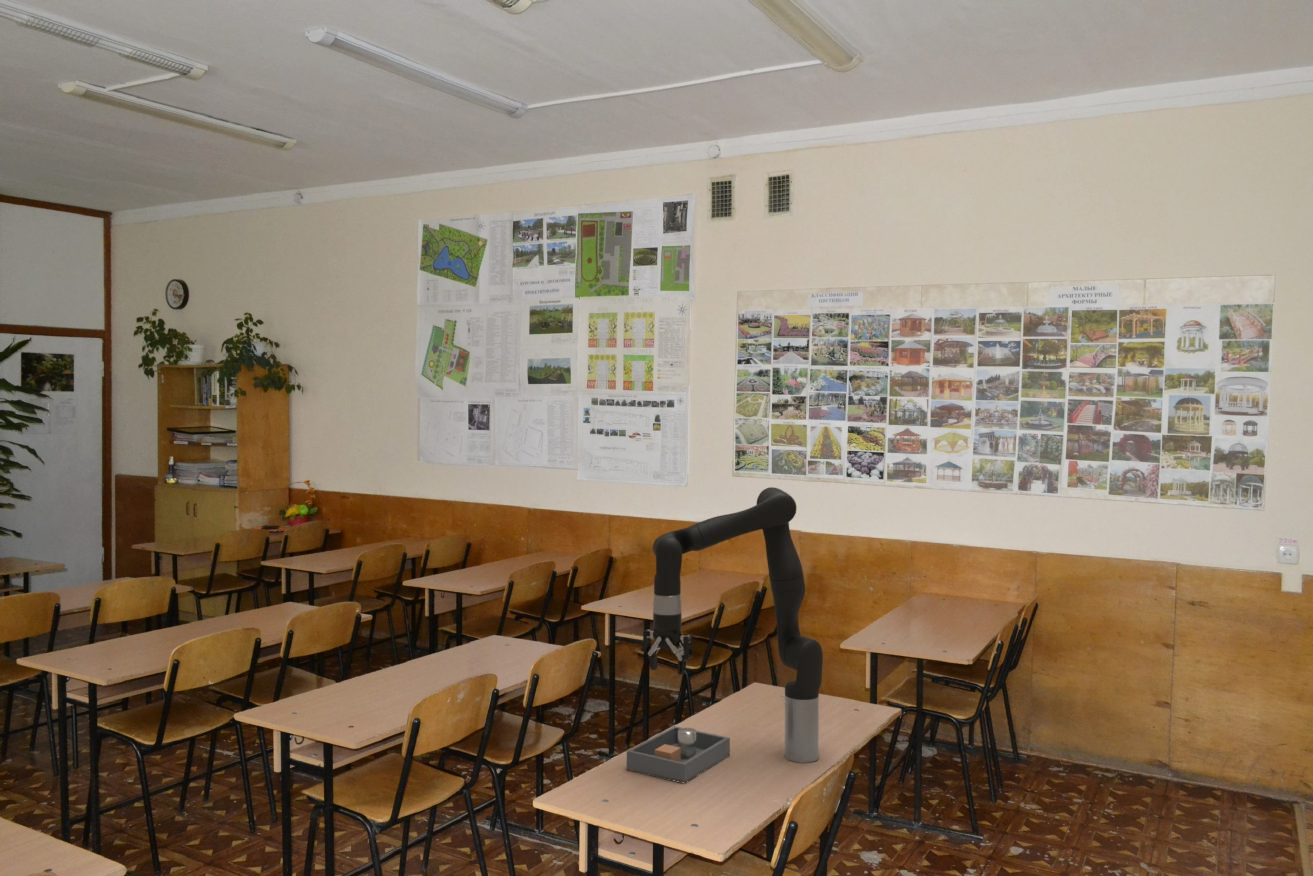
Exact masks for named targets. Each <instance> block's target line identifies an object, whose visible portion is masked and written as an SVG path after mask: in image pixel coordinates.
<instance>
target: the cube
mask: <svg viewBox="0 0 1313 876" xmlns="http://www.w3.org/2000/svg"><path fill="white" fill-rule="evenodd" d="M655 756H657V757H661V758H666V759H670V760H674V761H679V762H681V748H680V747H675V746H671V745H666V744H664V745H662V746H661V747H659V748H657V749H655Z"/></svg>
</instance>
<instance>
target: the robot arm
mask: <svg viewBox="0 0 1313 876" xmlns="http://www.w3.org/2000/svg"><path fill="white" fill-rule="evenodd" d="M796 513H797V503H796V501H795V499H794V498H793V497H792V496H791V494H789V493H788V492H786V491H784V490H782V489H780V488H777V487H771V486H770V487H766V488H765V489H763V490H762V491H761V492H760V493H759V495H758V496H757V499H756V504H755V505H754V506H752V507H750V508H747V509H743V510H741V511H737V512H732V513H727V514H722V515H717V516H713V517H710V518H707V519H704V520H701V521H699V522H696V523H694V524H691V525H690V526H687V527H684V528H680V529H676V530H672V531H669V532H666V533H663V534H660V535H659V536H657V537H656V539H655V540H654V542H653V544H652V552H653V554H654V556H655V567H656V568H655V574H654V579H653V601H652V618H653V619H652V627H653V630H652V629H651V628H649V629H646V630H644V631H643V634H642V653H644V654H647V655H648V660H649V661H648V662H649V663H648V664H649V665H648V666H649V668H650V670H651V671H655V670H657V669H658V655H657V653H658V652H659V651H660V650H668V651H671V652H672V653H673V654H674V655H675V656H676V657H677V659H678V661H677V675H681V676H682V675H684V674H685V673H686V671H687V660H689V659H691V658H693V656H694V655H693V653H694V652H693V636H692V635H691V634H688V635H683V634H682V626H683V625H682V621H683V620H682V610H683V609H682V608H683V607H682V605H683V604H682V597H681V590H682V589H681V587H682V586H681V585H682V584H681V583H682V582H681V571H682V563H683V555H684V554H688V553H690V552H699V551H703V550H705V549H707V548H711V547H713V546H716V545H717V544H720V543H723V542H725V541H728V540H731V539H733V538H736V537H739V536H742V535H743V536H744V535H745V534H749V533H753V532H755V531H760V530H762V533H763V536H764V542H765V552H766V560H767V561H766V562H767V568H768V577H769V583H770V589H771V593H772V597H773V598H772V599H773V600H772V601H773V605H774V613H775V620H776V622H775V623H776V634H777V636H776V637H777V650H778V651H777V652H778V656H779V659H780V662H781V663H782V665H784V666H785V667H787V668H789V669H792V670H795V671H796V676H795V680H792V681H789V682H787V683H786V684H785V686H784V758H785V759H786V760H788V761H790V762H794V763H799V764H800V763H801V764H806V763H807V764H809V763H813V762H815V761H818V760H819V755H820V754H819V749H820V748H819V747H820V745H819V739H820V738H819V735H820V734H819V733H820V728H819V726H820V725H819V724H820V722H819V721H820V720H819V719H820V717H819V716H820V714H819V709H820V708H819V706H820V705H819V704H820V698H819V697H820V695H819V693H820V689H821V686H822V681H823V665H824V664H823V663H824V661H823V658H824V653H823V648H822V646H821V644H820V642H819V641H817V640H816V639H813V638H810V637H807V636H806V637H805V636H802V635H801V632H800V626H799V611H800V608H801V607H802V604H803V601H804V598H805V595H806V583H805V577H804V569H803V566H802V562H801V560H800V557H799V555H798V552H797V549H796V547H795V543H794V541H793V539H792V535H791V530H790V529H791V528H790V522H791V521H792V520H793V519H794V518H795V516H796ZM653 639H654V643H652V641H653ZM681 643H682V644H681Z"/></svg>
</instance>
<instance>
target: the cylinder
mask: <svg viewBox="0 0 1313 876" xmlns="http://www.w3.org/2000/svg"><path fill="white" fill-rule="evenodd" d="M696 731H697V730H696V729H695V728H693V727H681V729H679V730H678V747H680V748H681V759H690V758H692V757H694V756H695V755H696Z"/></svg>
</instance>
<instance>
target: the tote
mask: <svg viewBox="0 0 1313 876" xmlns="http://www.w3.org/2000/svg"><path fill="white" fill-rule="evenodd" d="M681 728H682V727H680V726H675V725H674V726H672V727H669V728H668V729H666V730H664V731H662V732H661V733H658V734H656V735H655V736H653V737H651V738H649V739H647V740H645V741H643V742H641V743H640V744H637V745H636V746H634V747H632V748H630V749H628V750H626V770H627V769H629V770H628V771H630V770H633V771H632V772H634V771H637V772H636V773H638V772H641V773H640V774H642V773H645V774H644V775H646V774H650V775H653V776H652V777H654V776H656V777H655V778H658V777H660V778H659V779H662V778H665V779H664V780H666V779H670V780H675V781H679V782H684V783H686V782H687V781H689V780H690V781H692V780H693V779H692V778H694V777H695V778H697V777H698V776H699V775H698V774H700V773H701V774H703V773H705V772H706V771H708V770H710V769H711V768H713V767H714V766H716V765H718V764H719V763H721V762H723V761H724V760H725V759H727V758H729V757H730V756H731V753H730V752H731V737H728V736H724V735H719V734H714V733H710V732H709V733H708V732H705V731H699V730H696V755H695V756H694V757H692V758H690V759H681V762H679V761H674V760H670V759H666V758H661V757H657V756H655V749H657V748H659V747H661V746H662V745H664V744H666V745H671V746H675V747H678V730H679V729H681ZM712 766H713V767H712ZM707 769H708V770H707ZM705 770H706V771H705ZM704 771H705V772H704ZM702 772H703V773H702ZM701 774H700V775H701ZM650 775H649V776H650ZM697 775H698V776H697ZM696 776H697V777H696ZM695 778H694V779H695ZM691 779H692V780H691ZM670 780H669V781H670ZM690 781H689V782H690ZM679 782H678V783H679ZM687 783H688V782H687ZM687 783H686V784H687Z"/></svg>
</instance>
